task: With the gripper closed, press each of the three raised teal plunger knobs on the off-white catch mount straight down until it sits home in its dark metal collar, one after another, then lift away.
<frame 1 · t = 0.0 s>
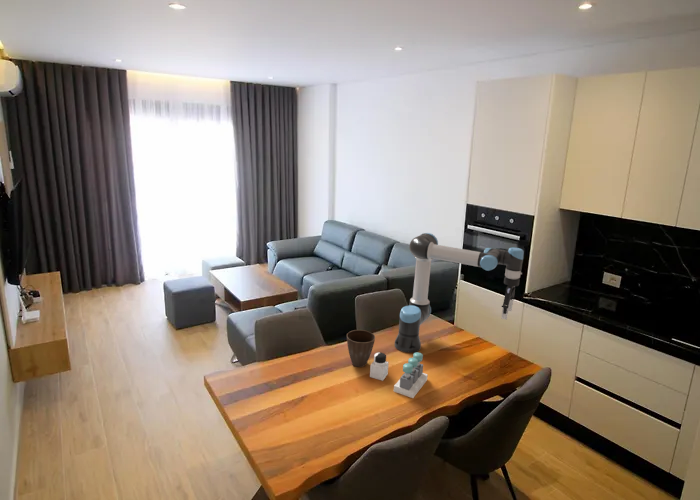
hand: (506, 314, 231), 28 cm above the table, fingers open, 13 cm apart
knob 1: (417, 361, 214), point 10 cm above the table, slide at 0.0 cm
plant pot: (359, 363, 229), on the table
knob 3: (407, 373, 203), point 10 cm above the table, slide at 0.0 cm
medicine bottle: (378, 376, 218), on the table
knob 2: (412, 367, 209), point 10 cm above the table, slide at 0.0 cm
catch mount: (410, 385, 211), on the table
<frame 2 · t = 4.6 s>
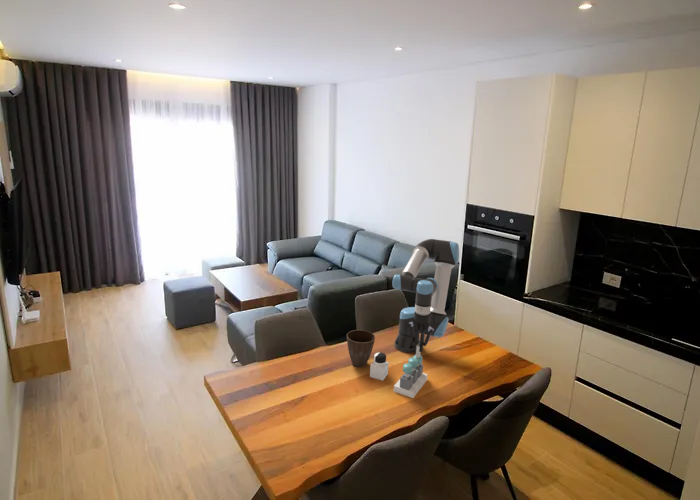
hand: (417, 356, 213), 13 cm above the table, fingers closed
knob 1: (417, 364, 214), point 9 cm above the table, slide at 1.4 cm, touching gripper
everything else where it was.
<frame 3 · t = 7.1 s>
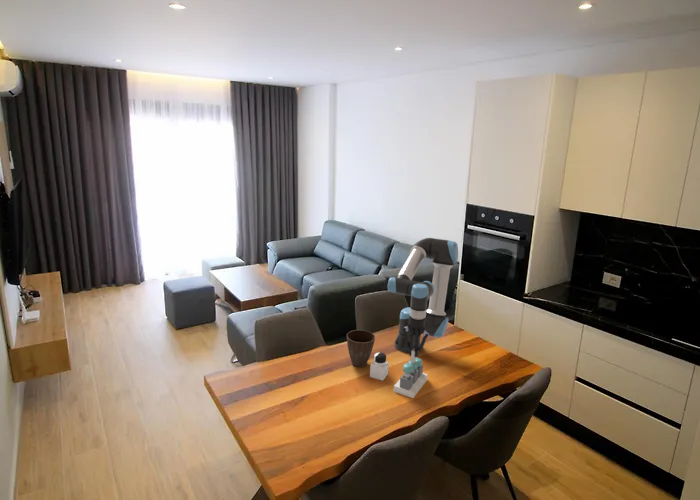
hand: (413, 362, 208), 13 cm above the table, fingers closed
knob 1: (416, 367, 215), point 7 cm above the table, slide at 3.0 cm
knob 2: (412, 369, 209), point 9 cm above the table, slide at 1.3 cm, touching gripper
everything else where it was.
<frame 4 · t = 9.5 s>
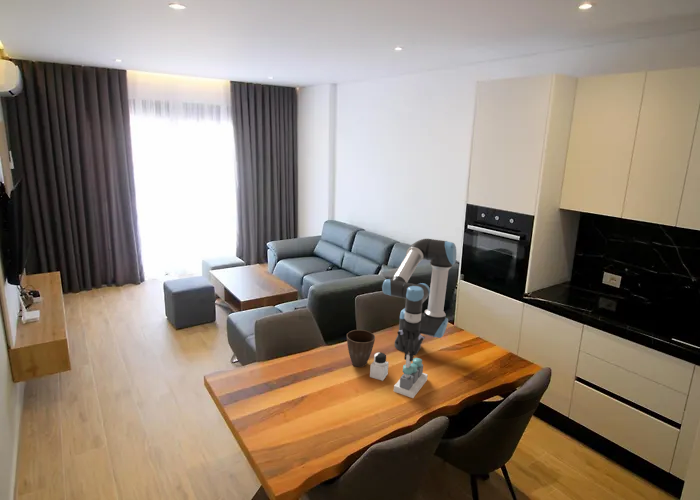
hand: (408, 366, 202), 14 cm above the table, fingers closed
knob 3: (407, 374, 203), point 9 cm above the table, slide at 0.6 cm, touching gripper
knob 2: (412, 372, 209), point 7 cm above the table, slide at 3.0 cm
everything else where it was.
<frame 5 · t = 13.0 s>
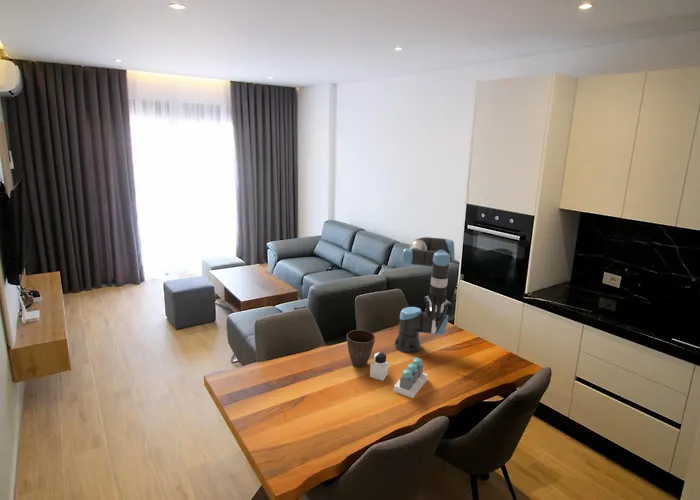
hand: (433, 332, 205), 28 cm above the table, fingers closed
knob 3: (406, 378, 204), point 7 cm above the table, slide at 3.0 cm
everything else where it was.
at the end: knob 1 slide at 3.0 cm; knob 2 slide at 3.0 cm; knob 3 slide at 3.0 cm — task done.
